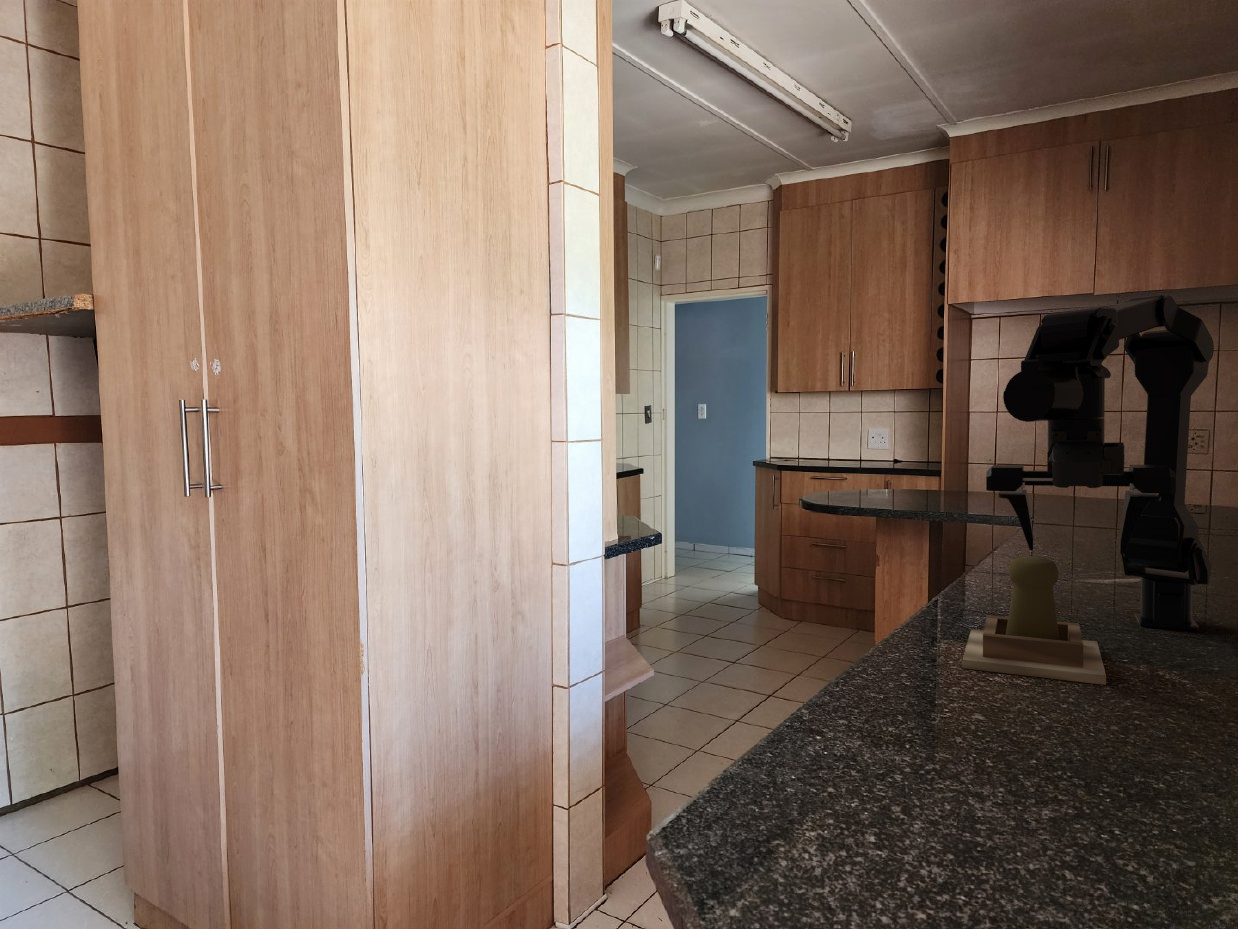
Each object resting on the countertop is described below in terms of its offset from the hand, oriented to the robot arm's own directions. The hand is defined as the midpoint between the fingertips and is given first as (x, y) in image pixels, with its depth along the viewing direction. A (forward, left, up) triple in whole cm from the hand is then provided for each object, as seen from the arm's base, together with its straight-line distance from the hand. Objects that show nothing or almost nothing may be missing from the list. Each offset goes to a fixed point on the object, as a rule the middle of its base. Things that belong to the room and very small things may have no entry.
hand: (1075, 551), depth 92 cm
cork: (+3, -4, -12) cm, 13 cm away
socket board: (+3, -5, -13) cm, 14 cm away
